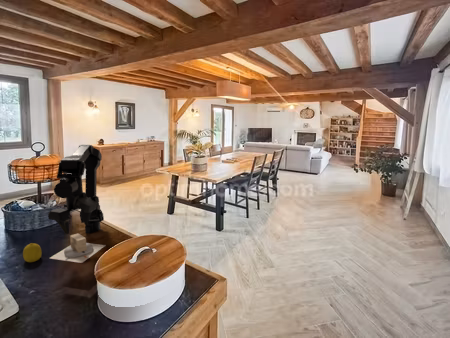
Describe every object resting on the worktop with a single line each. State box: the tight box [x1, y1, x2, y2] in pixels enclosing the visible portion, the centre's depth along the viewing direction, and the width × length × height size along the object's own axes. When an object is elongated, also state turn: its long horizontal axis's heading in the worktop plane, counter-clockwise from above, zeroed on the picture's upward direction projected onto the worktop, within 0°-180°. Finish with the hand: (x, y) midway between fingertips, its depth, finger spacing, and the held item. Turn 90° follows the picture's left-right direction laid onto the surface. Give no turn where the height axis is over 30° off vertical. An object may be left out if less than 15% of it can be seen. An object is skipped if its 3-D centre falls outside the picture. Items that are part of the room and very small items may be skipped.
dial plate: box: [49, 242, 106, 264], centre depth 103 cm, size 14×14×2 cm
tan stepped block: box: [63, 232, 93, 257], centre depth 102 cm, size 10×10×6 cm
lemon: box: [22, 242, 43, 263], centre depth 96 cm, size 6×6×8 cm
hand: (77, 229), depth 101 cm, fingers open, 9 cm apart
